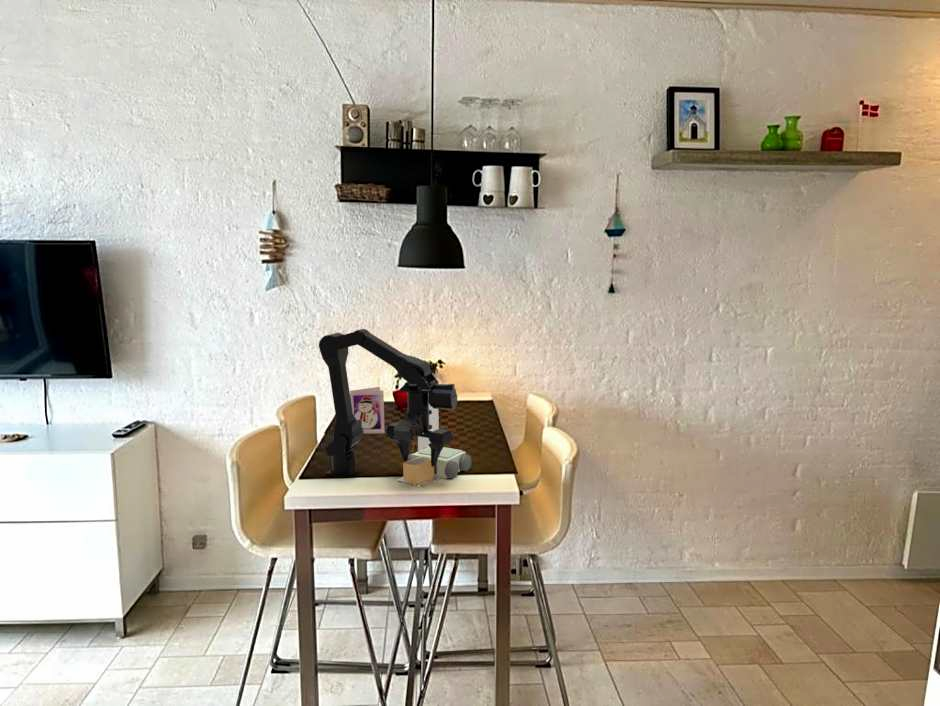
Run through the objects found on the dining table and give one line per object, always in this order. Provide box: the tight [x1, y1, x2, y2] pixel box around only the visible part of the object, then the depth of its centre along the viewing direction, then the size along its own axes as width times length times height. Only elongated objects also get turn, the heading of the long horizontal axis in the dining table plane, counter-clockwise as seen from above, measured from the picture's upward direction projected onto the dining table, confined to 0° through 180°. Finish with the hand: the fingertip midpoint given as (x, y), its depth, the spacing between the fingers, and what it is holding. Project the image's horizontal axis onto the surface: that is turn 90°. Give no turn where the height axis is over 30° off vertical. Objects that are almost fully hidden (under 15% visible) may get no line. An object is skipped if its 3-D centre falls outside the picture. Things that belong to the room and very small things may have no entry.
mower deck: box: [405, 446, 472, 479], centre depth 191 cm, size 15×12×5 cm
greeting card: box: [349, 386, 385, 434], centre depth 233 cm, size 11×7×15 cm, turn 90°
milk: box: [417, 404, 440, 452], centre depth 206 cm, size 6×6×22 cm
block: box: [402, 456, 434, 484], centre depth 183 cm, size 8×4×5 cm, turn 148°
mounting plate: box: [396, 475, 443, 488], centre depth 184 cm, size 9×8×1 cm
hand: (419, 463), depth 183 cm, fingers open, 9 cm apart
